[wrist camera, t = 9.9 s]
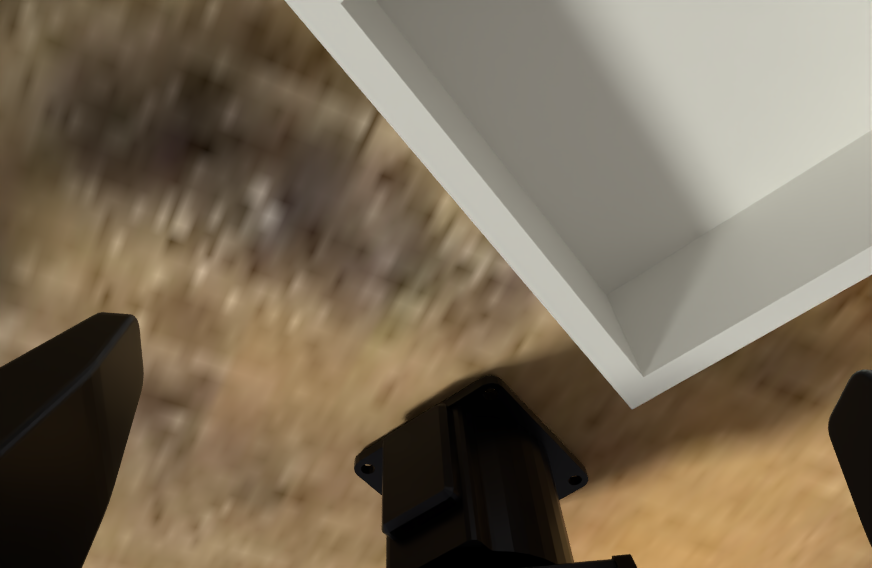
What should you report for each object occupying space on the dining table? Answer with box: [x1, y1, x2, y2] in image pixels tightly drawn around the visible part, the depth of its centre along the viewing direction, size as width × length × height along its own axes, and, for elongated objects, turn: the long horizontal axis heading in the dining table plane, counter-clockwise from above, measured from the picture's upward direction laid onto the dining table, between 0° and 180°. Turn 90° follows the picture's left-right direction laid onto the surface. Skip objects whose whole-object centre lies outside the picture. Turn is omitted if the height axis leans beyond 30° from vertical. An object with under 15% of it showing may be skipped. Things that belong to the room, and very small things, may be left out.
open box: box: [285, 0, 872, 409], centre depth 17 cm, size 14×14×5 cm
